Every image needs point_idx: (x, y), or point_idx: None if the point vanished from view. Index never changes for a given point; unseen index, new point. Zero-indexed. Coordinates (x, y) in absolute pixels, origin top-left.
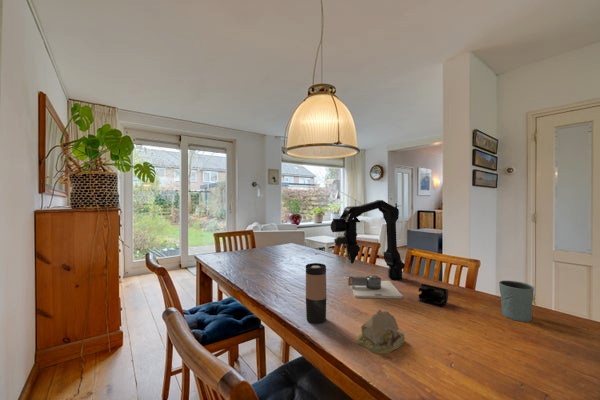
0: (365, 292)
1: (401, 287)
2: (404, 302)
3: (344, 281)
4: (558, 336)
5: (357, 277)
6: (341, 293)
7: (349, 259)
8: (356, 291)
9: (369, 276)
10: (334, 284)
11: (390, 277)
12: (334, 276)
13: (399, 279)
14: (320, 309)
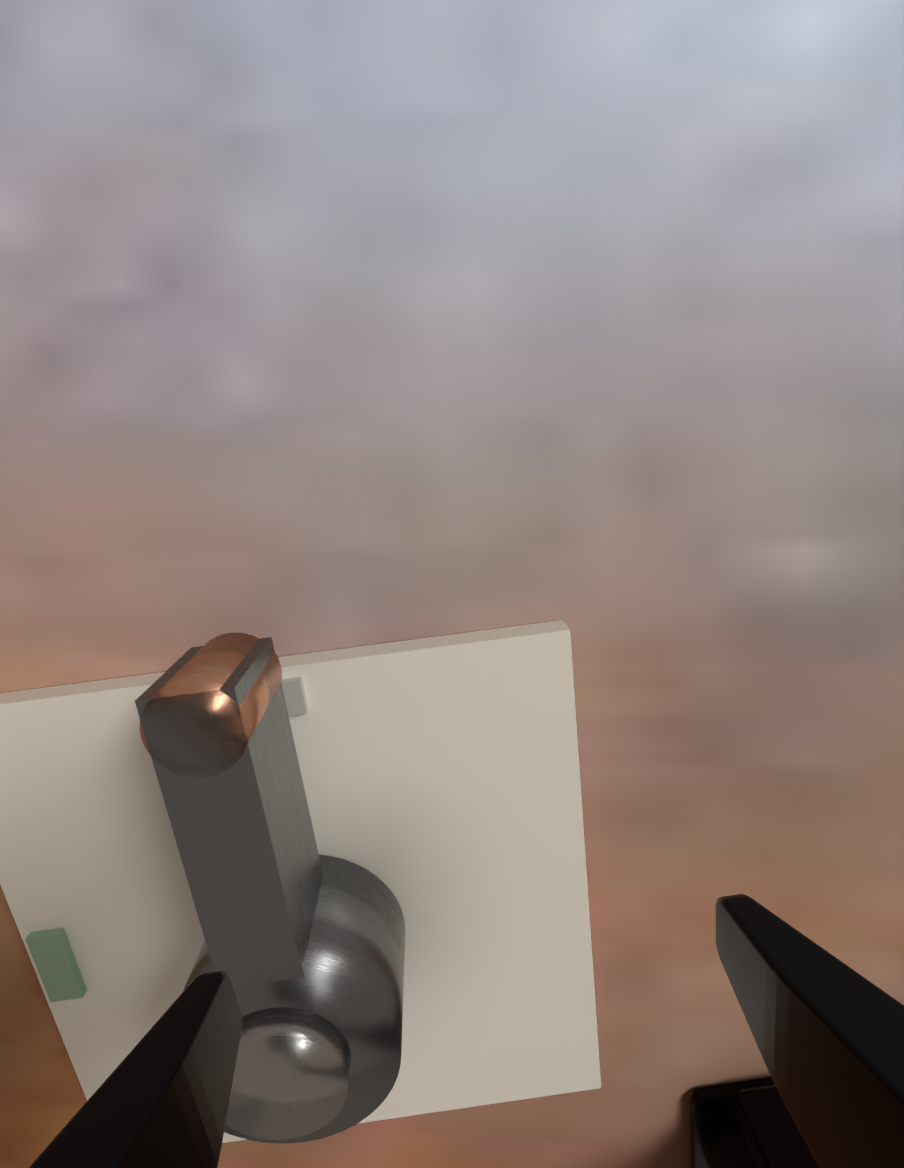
0: (96, 836)
1: (452, 1147)
2: (17, 1132)
3: (595, 554)
4: None
5: (234, 845)
6: (52, 521)
7: (721, 923)
8: (95, 732)
9: (250, 1039)
10: (429, 397)
11: (738, 1104)
12: (851, 379)
13: (693, 1163)
14: None
